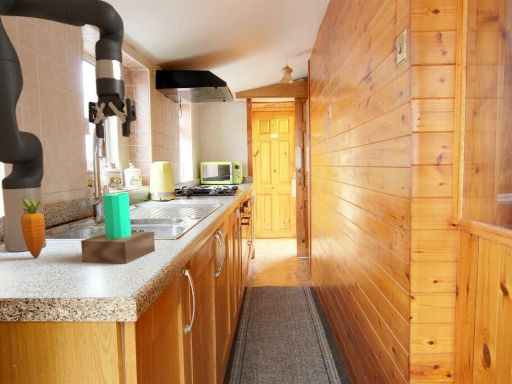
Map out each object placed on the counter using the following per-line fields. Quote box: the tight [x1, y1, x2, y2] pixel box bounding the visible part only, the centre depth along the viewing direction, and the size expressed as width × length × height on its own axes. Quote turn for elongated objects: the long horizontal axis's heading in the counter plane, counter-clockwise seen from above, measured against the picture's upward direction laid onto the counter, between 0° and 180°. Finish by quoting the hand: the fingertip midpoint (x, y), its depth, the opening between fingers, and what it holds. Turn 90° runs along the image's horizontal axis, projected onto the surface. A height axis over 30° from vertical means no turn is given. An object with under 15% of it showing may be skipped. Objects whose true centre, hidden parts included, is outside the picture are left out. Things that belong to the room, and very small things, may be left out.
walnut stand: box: [80, 230, 156, 264], centre depth 86 cm, size 12×12×5 cm
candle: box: [102, 187, 132, 239], centre depth 85 cm, size 6×6×12 cm
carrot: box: [21, 199, 46, 259], centre depth 87 cm, size 5×5×15 cm
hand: (113, 137), depth 99 cm, fingers open, 8 cm apart
